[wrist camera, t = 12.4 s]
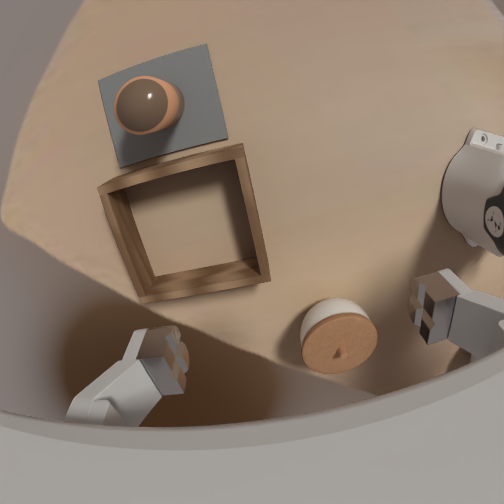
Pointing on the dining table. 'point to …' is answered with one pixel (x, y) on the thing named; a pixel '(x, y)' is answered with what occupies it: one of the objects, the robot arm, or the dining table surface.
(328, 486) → the robot arm
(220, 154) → the wooden frame
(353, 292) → the dining table surface
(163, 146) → the slate mat
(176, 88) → the peach cylinder
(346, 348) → the lidded jar
